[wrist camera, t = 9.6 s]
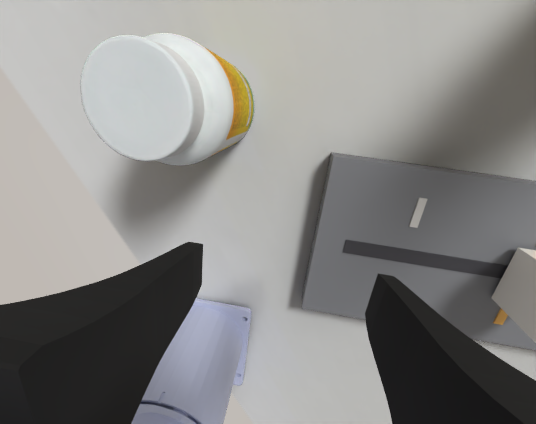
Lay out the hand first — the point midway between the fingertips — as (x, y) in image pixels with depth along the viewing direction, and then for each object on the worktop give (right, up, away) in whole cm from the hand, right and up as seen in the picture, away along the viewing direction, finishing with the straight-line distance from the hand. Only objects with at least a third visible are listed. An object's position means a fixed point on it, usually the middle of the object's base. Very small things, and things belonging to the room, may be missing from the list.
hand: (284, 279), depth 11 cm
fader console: (+14, 0, +9) cm, 16 cm away
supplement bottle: (-4, +10, +7) cm, 13 cm away
